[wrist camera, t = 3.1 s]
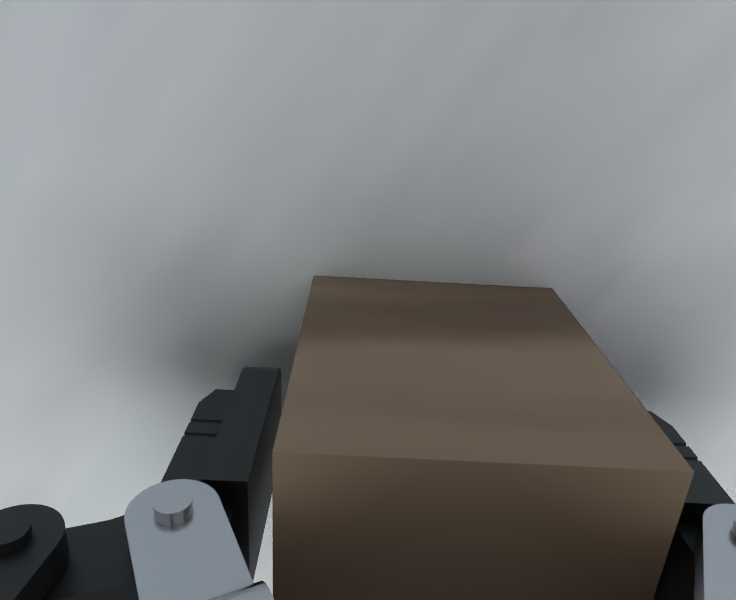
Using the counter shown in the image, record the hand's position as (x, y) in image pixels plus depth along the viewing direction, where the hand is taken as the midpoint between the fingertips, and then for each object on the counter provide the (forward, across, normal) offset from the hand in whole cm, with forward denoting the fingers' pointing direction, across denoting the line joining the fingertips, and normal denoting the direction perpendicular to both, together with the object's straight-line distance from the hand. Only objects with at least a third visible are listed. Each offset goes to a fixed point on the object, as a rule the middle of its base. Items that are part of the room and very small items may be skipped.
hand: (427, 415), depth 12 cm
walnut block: (+1, 0, 0) cm, 1 cm away
